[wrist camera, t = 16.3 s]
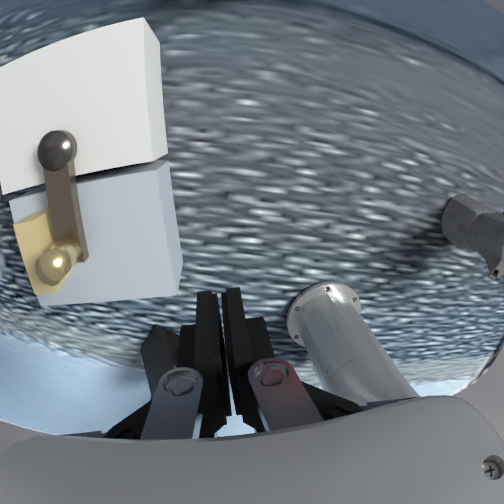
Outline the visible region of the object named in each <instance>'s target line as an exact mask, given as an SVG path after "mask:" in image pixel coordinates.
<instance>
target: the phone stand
mask: <svg viewBox="0 0 504 504" xmlns="http://www.w3.org/2000/svg"><path fill="white" fill-rule="evenodd" d="M179 339H180V335H178V334H176V333H173V332H171V331H169V330H167V329H165V328H163V327H161V326H159V325H157V324H156V325H155V327H154V328H153V330H152V331H151V333H150V335H149V336H148V338H147V340H146V341H145V343H144V345H143V346H142V348H141V353H142V357H143V362H144V366H145V371H146V375H147V379H148V384H149V388H150V392H151V399H150V401H151V400H152V399H153V398H154V395H155V392H156V389H157V386H158V383H159V381H160V379H161V377H162V376H163V375H164V374H165V373H166V372H168V371H170V370H172V369H173V367H172V364H174V365H177V358H178V348H179Z"/></svg>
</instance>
